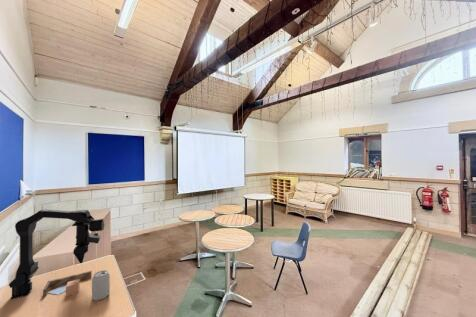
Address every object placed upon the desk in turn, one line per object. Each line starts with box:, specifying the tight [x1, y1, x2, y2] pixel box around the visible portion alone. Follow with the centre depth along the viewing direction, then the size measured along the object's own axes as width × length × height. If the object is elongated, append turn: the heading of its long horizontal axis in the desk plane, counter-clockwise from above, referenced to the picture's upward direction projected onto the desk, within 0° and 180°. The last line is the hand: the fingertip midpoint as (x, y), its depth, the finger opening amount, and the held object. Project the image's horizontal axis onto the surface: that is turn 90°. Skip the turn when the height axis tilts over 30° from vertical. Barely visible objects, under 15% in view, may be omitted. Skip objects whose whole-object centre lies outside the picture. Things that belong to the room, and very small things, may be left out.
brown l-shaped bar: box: [42, 270, 93, 297], centre depth 112 cm, size 20×9×4 cm, turn 122°
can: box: [91, 269, 111, 302], centre depth 102 cm, size 8×8×12 cm
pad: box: [48, 284, 67, 296], centre depth 108 cm, size 7×7×1 cm
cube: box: [65, 279, 81, 297], centre depth 106 cm, size 5×5×5 cm
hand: (82, 259), depth 114 cm, fingers open, 9 cm apart
